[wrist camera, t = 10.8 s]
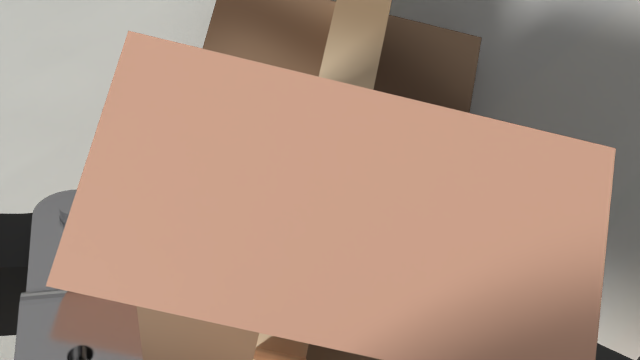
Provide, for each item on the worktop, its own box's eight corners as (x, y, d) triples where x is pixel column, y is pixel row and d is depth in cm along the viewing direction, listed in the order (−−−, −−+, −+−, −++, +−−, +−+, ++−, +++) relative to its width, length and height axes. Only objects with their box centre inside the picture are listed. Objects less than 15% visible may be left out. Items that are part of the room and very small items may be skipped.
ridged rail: (376, 611, 18) (447, 814, 11) (68, 550, 17) (-67, 720, 10) (470, 51, 22) (563, -63, 15) (226, -9, 22) (206, -154, 15)
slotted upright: (377, 335, 18) (591, 404, 6) (193, 295, 17) (45, 287, 6) (394, 244, 18) (615, 148, 7) (217, 203, 18) (128, 31, 6)
